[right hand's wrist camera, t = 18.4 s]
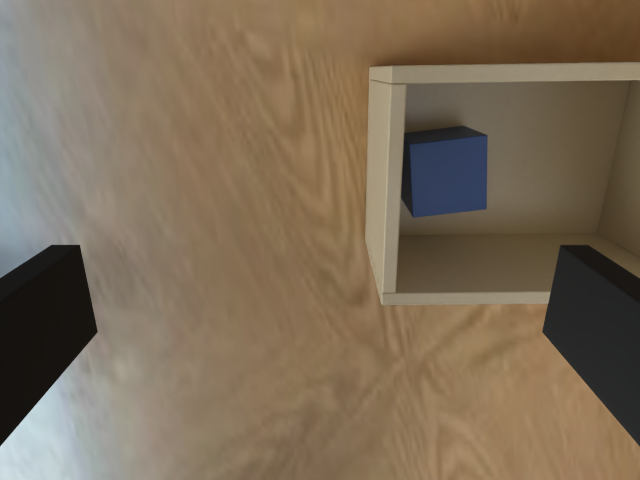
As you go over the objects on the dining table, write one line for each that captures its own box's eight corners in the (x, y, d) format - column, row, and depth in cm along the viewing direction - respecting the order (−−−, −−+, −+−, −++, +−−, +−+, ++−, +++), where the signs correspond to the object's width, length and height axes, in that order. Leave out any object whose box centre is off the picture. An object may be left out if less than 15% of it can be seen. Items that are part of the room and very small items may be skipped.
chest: (365, 241, 31) (381, 305, 23) (369, 66, 27) (391, 65, 19) (598, 238, 31) (703, 302, 23) (638, 62, 27) (784, 59, 19)
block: (400, 198, 29) (412, 217, 25) (396, 133, 28) (408, 144, 24) (464, 190, 29) (487, 209, 25) (464, 125, 28) (487, 134, 24)
